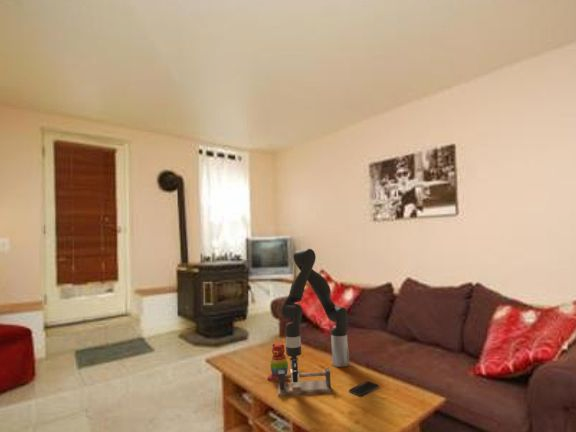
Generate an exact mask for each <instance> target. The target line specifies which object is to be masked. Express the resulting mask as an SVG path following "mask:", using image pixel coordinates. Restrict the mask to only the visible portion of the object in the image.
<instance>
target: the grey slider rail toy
mask: <svg viewBox="0 0 576 432" xmlns="http://www.w3.org/2000/svg"><path fill="white" fill-rule="evenodd" d="M324 376H325V379H323V380H321V379H319V380H306V381H299V382H300V383H291V381H290V382H287V381H286V382H285V378H288V379H291V373H289V374H288V373H287V375H285V373H284V370H279V371H278V377H279V382H277V395H278V398H285V397H299V396H314V395H327V394H328V395H330V394H333V388H332V385H331V371H330V368H329V367H325V368H324V371H323V372H319V371H318V372H305V373H299V378H307V377H308V378H309V377H310V378H311V377H324Z"/></svg>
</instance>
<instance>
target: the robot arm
mask: <svg viewBox="0 0 576 432" xmlns="http://www.w3.org/2000/svg"><path fill="white" fill-rule="evenodd" d="M316 258H317V257H316V253H315V251H314V250H313V249H312V248H304V249H300V250H296V251H294V253H293V261H294V264H295V265H296V267H297V268H298V270H299V271H300V272H299V273H298V274H297V275H296V277H295V278H294V280H293V281H292V283H291V286H290V289H289V294H288V296H287V297H286V300H285V301H284V303H283V304H282V307H281V309H280V311H281V312H280V314H281V316H282V317H283V318H285V319H292V320H293V322H288V323H286V325H285V351H286V352H285V355H287V356H288V357H289V362H290V363H289V364H290V369H292V374H293V382H298V378H297V374H298V370H299V357H300V356H301V355H302V341H301V340H302V339H301V332H300V331H301V329H300V327H301V322H302V317H303V313H304V312H303V308H302V305H301V304H297V303H300V302H302V300H303V296H304V293H305V289H306V285H307V283H308V284H309V286H310V287H311V289H312V290H313V292H314V294H315V296H316V297H317V298H318V301H319V303H320V305H321V306H322V307H323V310H324V312H325V315H326V317H327V319H329V321H331V322H334V323H335V327H332V328H331V330H330V337H331V338H330V341H331V342H330V344H331V360H332V365H333V366H334V367H337V368H338V367H339V368H344V367H347V366H350V352H349V346H348V329H349V321H348V320H349V315H348V311H347V308H345V307H344V306H338V305H335V303H334V302H333V300H332V298H331V293H332V292H331V290H332V289H331V287H330V284H329V283H328V281H327V280H326V278H325V277H324V276H323V275H321V274H320V273H318V272H317V271H315V270H314V269H313V267H314V265H315V262H316ZM294 370H296V372H294Z"/></svg>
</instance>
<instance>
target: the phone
mask: <svg viewBox="0 0 576 432" xmlns="http://www.w3.org/2000/svg"><path fill="white" fill-rule="evenodd" d="M379 388H380V385H379V384H377V383H375V382H372V381H365V382H362V383H360V384H358V385H356V386H354V387H352V388H350V389H348V392H349V393H350V394H352V395H355V396H357V397H358V398H361V397H364V396H365V395H368V394H370V393H372V392H374V391H376V390H377V389H379Z"/></svg>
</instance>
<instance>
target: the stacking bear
mask: <svg viewBox="0 0 576 432" xmlns="http://www.w3.org/2000/svg"><path fill="white" fill-rule="evenodd" d="M271 353H272V356H271V359H270V371H271V374H269V375H268V376H267V378H266V379H267V381H269V380H276V381H275V382H278V381H279V377H278V371H279V370H284V373H285V375H287V374H288V368H289V363H288V360H287V357H286V354H285V345H284V344H283V343H282V344H280V343H276V344H275V343H274V344H272V348H271ZM288 379H289V378H285V381H286V382H287V381H288Z"/></svg>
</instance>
